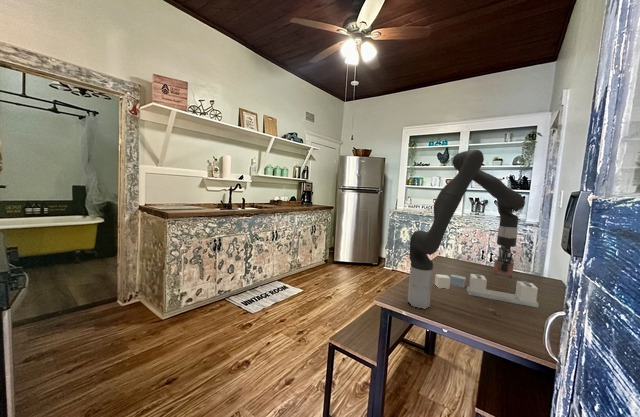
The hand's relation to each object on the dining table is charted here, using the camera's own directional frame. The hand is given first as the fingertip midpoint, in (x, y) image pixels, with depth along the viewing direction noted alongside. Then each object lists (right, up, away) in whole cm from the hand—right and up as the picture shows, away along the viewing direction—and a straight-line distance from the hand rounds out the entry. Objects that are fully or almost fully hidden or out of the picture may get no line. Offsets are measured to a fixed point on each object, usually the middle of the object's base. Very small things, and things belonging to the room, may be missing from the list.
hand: (503, 270), depth 124 cm
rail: (-1, -14, +1) cm, 14 cm away
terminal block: (-14, -12, +16) cm, 24 cm away
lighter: (0, -3, 0) cm, 3 cm away
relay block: (-24, -12, +12) cm, 30 cm away
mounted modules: (-1, -12, +1) cm, 12 cm away
